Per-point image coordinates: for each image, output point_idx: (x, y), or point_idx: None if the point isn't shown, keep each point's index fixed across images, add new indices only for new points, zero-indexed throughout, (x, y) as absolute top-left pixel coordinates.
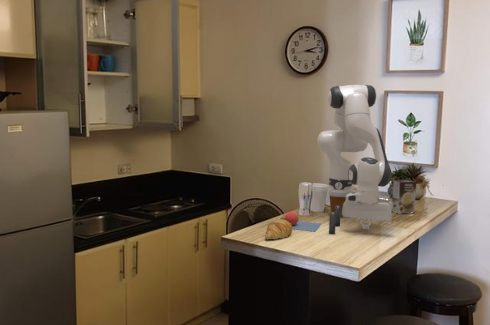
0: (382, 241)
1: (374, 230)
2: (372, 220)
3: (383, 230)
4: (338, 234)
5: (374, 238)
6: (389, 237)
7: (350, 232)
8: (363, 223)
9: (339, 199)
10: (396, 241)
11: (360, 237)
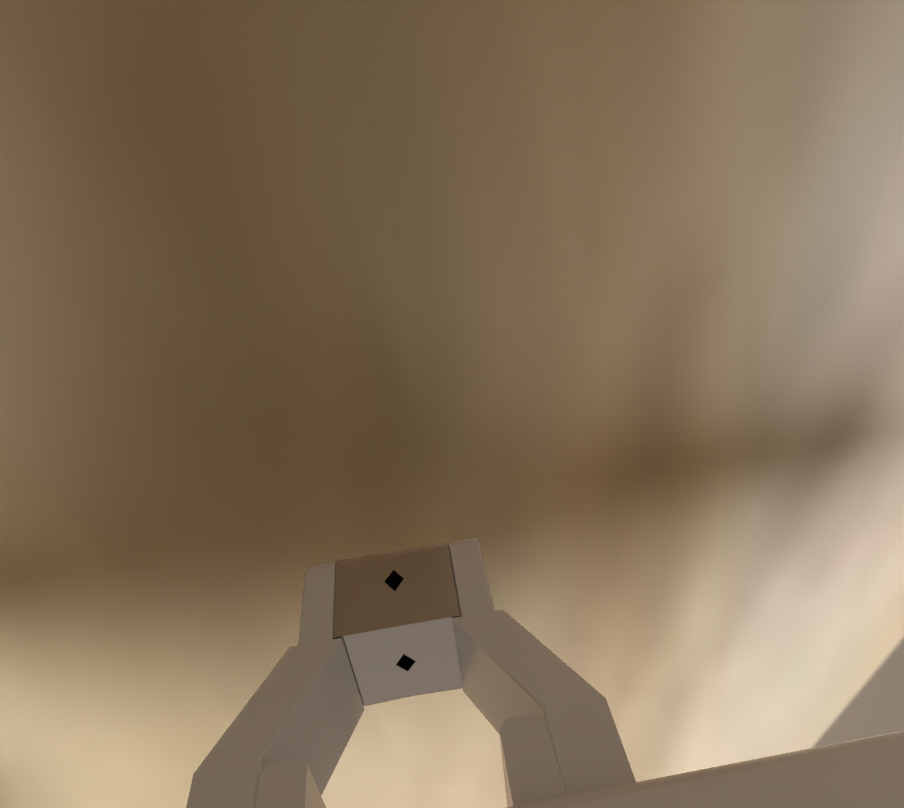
0: (707, 716)
1: (542, 193)
2: (616, 752)
3: (792, 40)
4: (33, 780)
5: (597, 674)
6: (837, 528)
7: (122, 618)
8: (330, 692)
9: None
10: (900, 635)
11: (396, 730)
